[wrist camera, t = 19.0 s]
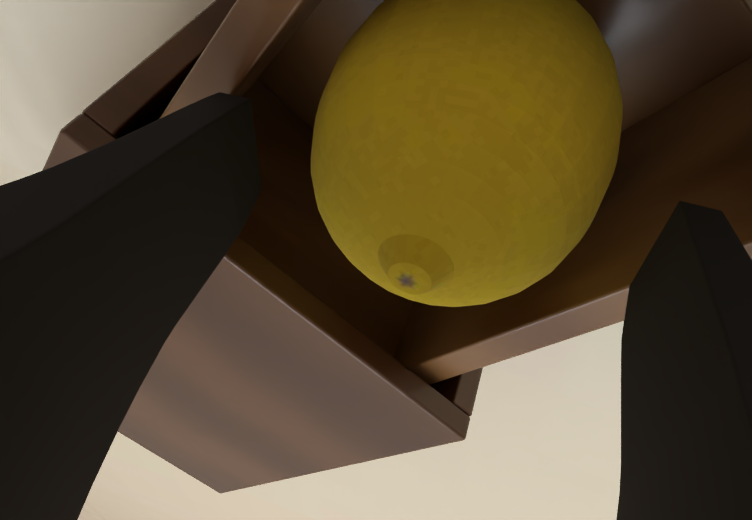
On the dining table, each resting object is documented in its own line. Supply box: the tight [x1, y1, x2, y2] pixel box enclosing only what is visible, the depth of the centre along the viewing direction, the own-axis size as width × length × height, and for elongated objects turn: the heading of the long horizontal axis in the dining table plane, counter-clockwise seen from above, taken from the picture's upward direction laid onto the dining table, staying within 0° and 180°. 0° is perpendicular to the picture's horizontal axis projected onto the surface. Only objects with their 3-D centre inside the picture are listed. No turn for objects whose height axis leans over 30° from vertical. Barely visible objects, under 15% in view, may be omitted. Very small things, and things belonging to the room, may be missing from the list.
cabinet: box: [43, 0, 483, 493], centre depth 21 cm, size 14×11×8 cm
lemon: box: [311, 0, 623, 307], centre depth 11 cm, size 6×6×8 cm
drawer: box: [159, 0, 752, 385], centre depth 11 cm, size 18×10×7 cm, turn 140°
